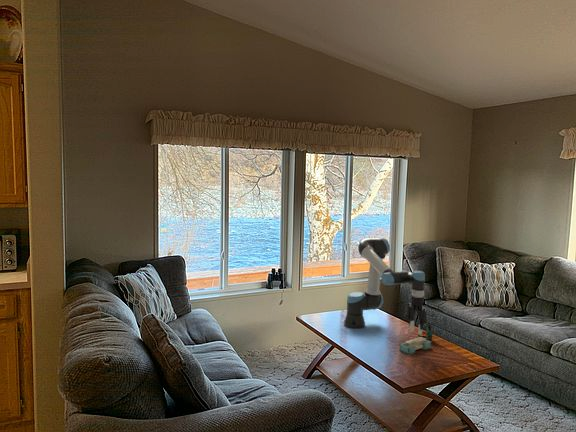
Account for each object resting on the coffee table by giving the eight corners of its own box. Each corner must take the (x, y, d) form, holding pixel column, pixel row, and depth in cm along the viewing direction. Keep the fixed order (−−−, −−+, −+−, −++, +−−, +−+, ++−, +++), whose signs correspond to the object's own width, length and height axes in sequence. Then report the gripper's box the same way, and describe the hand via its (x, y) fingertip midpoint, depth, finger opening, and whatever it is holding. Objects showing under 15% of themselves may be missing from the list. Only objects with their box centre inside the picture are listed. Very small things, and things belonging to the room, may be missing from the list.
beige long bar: (404, 349, 269) (404, 341, 269) (420, 344, 279) (421, 336, 278) (409, 351, 266) (410, 343, 266) (425, 346, 275) (426, 338, 275)
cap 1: (399, 350, 270) (399, 344, 270) (405, 348, 273) (405, 342, 273) (409, 354, 264) (409, 348, 263) (415, 352, 267) (415, 346, 266)
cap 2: (430, 347, 275) (431, 341, 275) (425, 349, 272) (425, 343, 272) (421, 344, 281) (421, 338, 281) (415, 345, 278) (415, 339, 278)
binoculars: (416, 323, 293) (432, 322, 291) (417, 338, 294) (433, 338, 292) (417, 327, 285) (433, 327, 283) (418, 343, 285) (434, 343, 283)
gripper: (401, 293, 275) (400, 329, 277) (426, 300, 260) (424, 338, 262) (409, 292, 280) (408, 327, 281) (434, 298, 264) (432, 335, 266)
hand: (416, 332), depth 272 cm, fingers open, 6 cm apart
